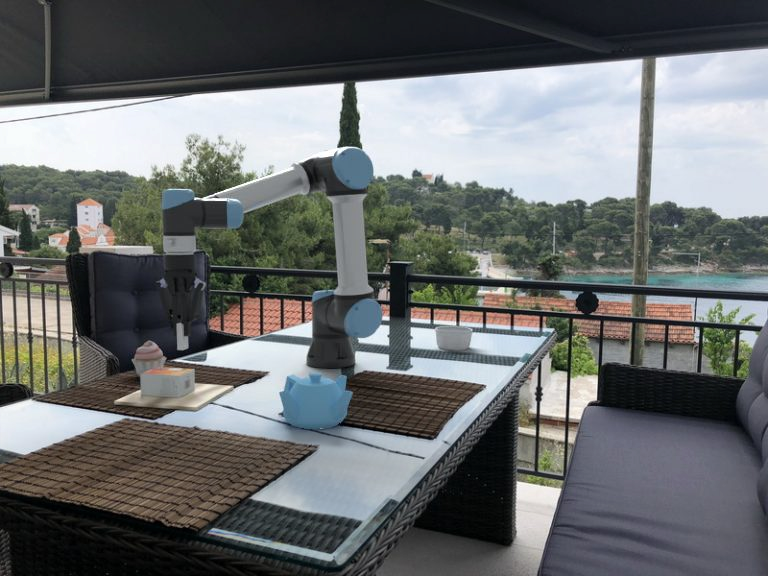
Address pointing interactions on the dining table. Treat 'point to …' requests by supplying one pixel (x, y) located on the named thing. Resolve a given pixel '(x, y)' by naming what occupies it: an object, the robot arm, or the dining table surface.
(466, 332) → the ramekin
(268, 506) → the dining table surface
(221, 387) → the birch board
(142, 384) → the small box
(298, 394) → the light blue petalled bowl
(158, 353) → the cupcake
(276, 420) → the dining table surface
